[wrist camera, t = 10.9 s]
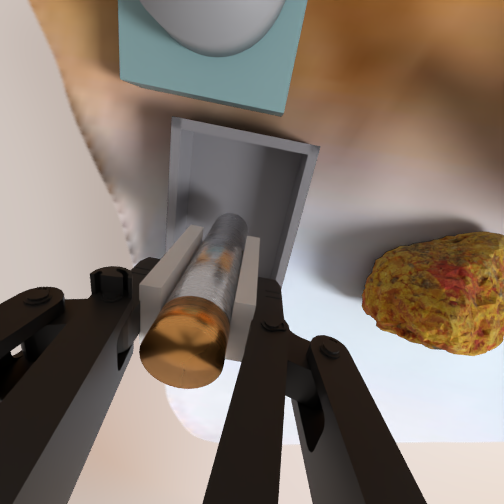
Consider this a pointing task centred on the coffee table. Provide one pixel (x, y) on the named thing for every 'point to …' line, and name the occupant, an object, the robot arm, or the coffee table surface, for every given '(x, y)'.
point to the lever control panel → (212, 49)
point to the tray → (239, 186)
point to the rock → (441, 293)
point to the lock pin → (198, 311)
